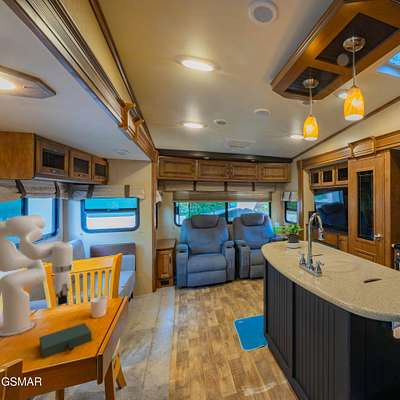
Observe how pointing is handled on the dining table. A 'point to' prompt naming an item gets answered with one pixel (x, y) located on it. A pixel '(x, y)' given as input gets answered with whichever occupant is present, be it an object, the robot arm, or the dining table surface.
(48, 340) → the dustpan
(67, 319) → the dining table surface
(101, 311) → the white cup
